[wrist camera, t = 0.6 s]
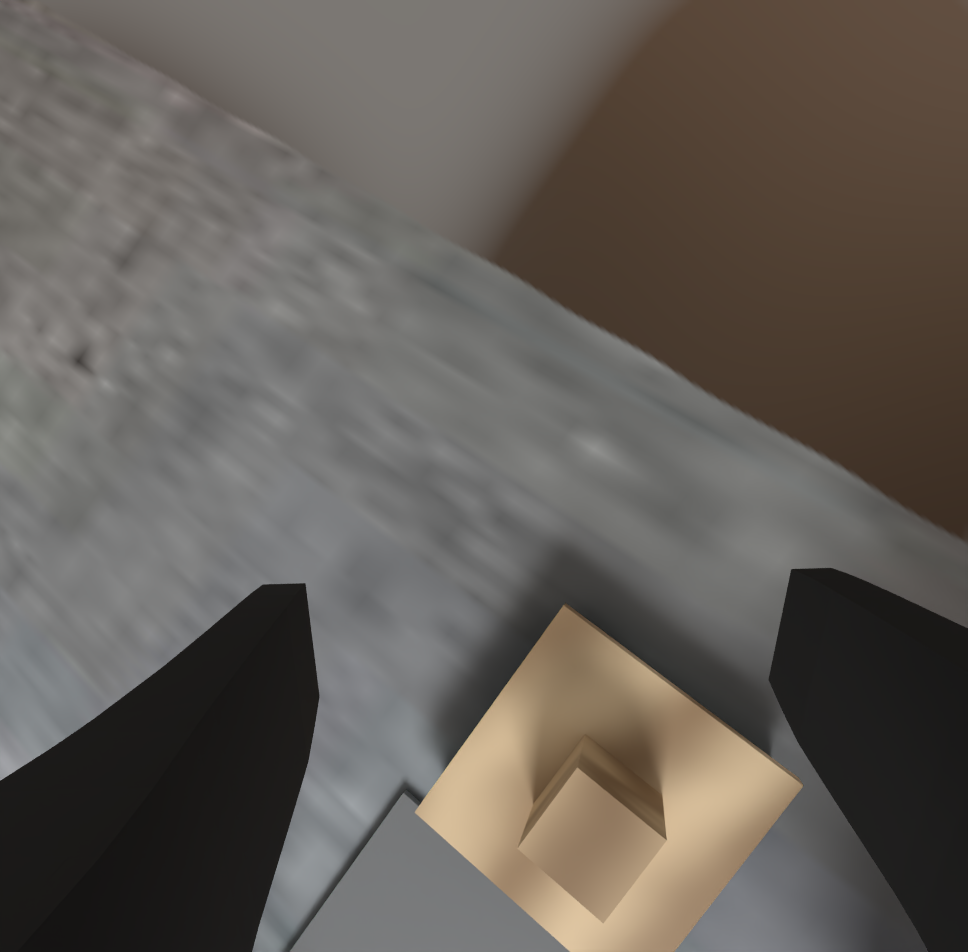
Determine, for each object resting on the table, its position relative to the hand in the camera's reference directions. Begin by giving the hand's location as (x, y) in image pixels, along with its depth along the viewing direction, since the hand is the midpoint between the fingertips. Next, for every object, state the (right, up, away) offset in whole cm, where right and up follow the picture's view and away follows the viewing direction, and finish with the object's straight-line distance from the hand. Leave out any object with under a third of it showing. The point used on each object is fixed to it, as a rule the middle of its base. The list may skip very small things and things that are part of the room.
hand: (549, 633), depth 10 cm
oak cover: (+4, -12, +19) cm, 23 cm away
